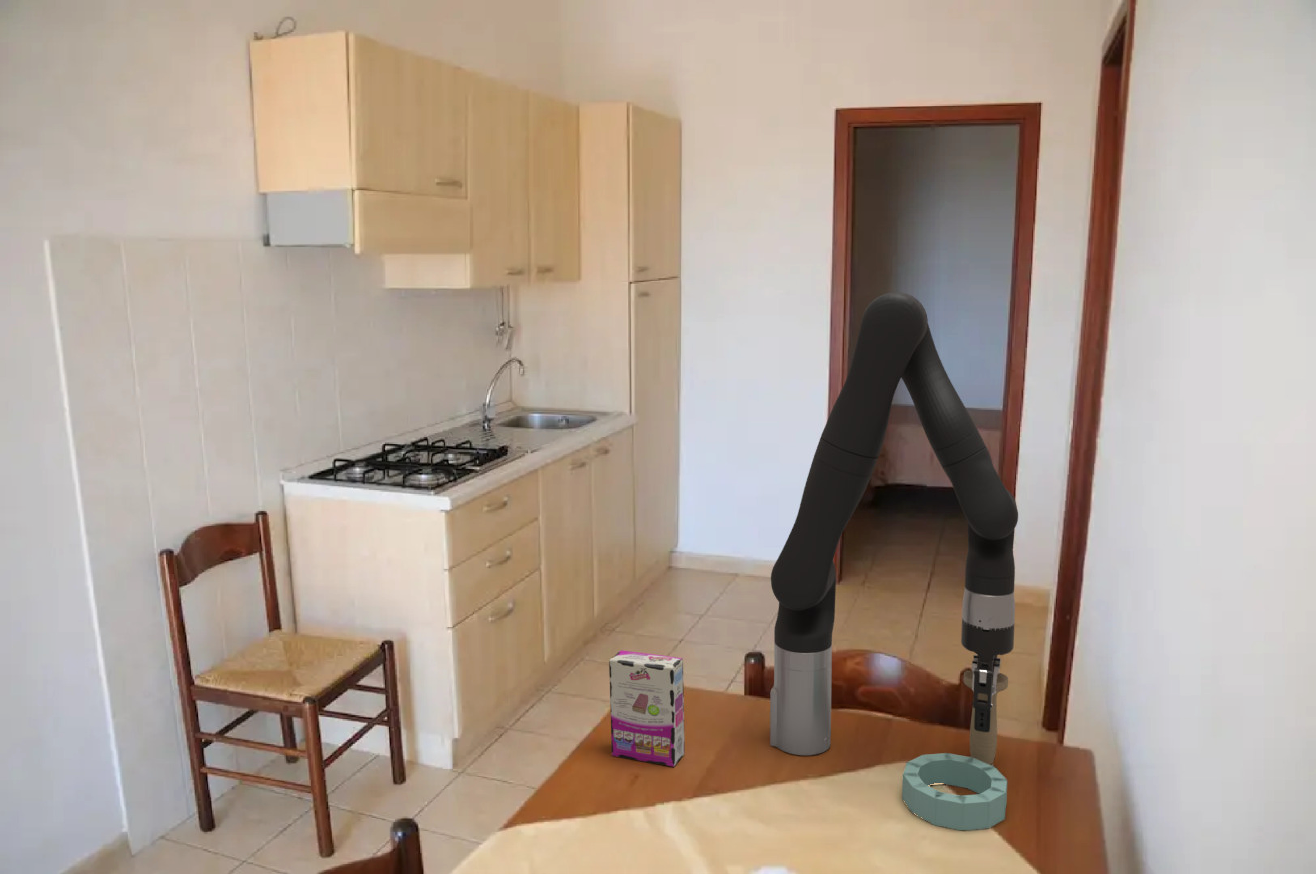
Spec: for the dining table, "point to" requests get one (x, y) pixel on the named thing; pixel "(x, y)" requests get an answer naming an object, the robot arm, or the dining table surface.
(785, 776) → the dining table surface
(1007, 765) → the dining table surface
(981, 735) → the handle
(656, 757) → the candy bar box
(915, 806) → the notched ring
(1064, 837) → the dining table surface
